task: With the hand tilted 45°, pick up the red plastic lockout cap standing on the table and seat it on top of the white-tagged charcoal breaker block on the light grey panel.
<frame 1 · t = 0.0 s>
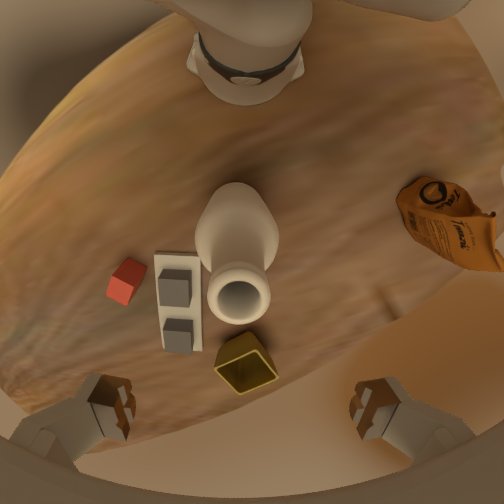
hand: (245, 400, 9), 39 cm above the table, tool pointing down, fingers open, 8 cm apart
coffee package: (418, 208, 48), on the table
flower pot: (244, 343, 55), on the table
panel: (180, 303, 51), on the table
alcohol: (235, 208, 46), on the table
cap: (134, 271, 48), on the table
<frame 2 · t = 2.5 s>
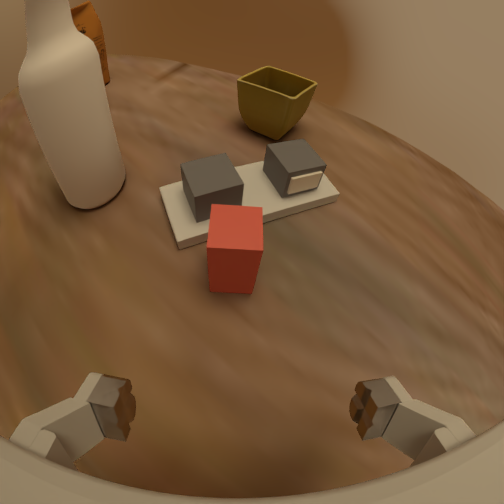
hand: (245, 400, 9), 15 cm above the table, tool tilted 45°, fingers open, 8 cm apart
coffee package: (83, 92, 46), on the table
flower pot: (270, 129, 41), on the table
panel: (251, 196, 33), on the table
alcohol: (96, 187, 32), on the table
cap: (231, 274, 28), on the table
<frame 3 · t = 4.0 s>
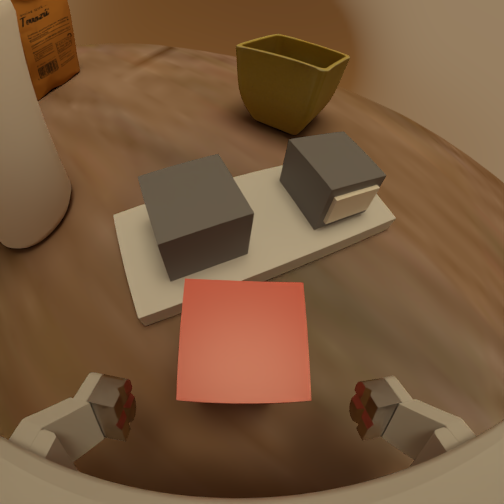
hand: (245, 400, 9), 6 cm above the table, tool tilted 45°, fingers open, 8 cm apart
coffee package: (49, 86, 34), on the table
flower pot: (283, 120, 29), on the table
panel: (262, 225, 21), on the table
alcohol: (36, 213, 20), on the table
cap: (234, 370, 15), on the table
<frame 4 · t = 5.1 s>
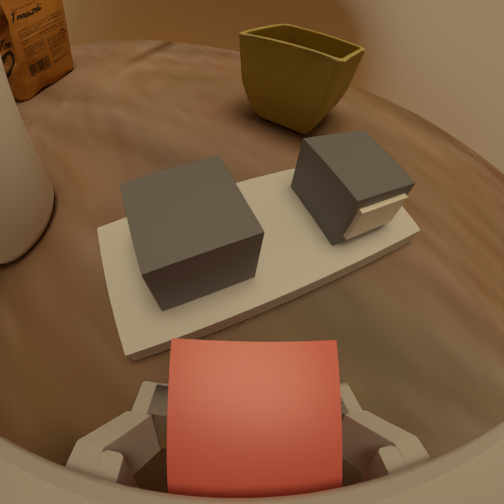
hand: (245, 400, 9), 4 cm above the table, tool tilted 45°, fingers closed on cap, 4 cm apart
coffee package: (41, 85, 31), on the table
flower pot: (291, 118, 26), on the table
panel: (271, 240, 18), on the table
alcohol: (18, 223, 17), on the table
cap: (239, 414, 12), on the table, touching gripper
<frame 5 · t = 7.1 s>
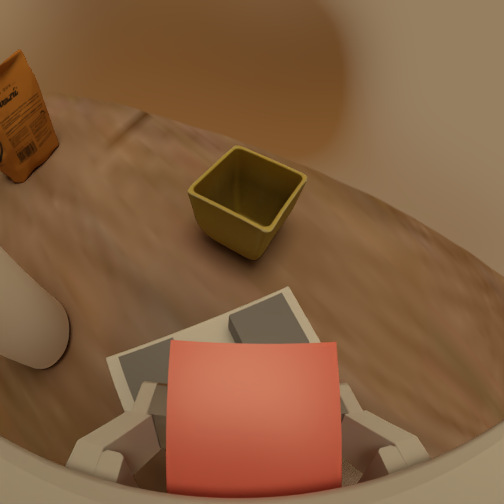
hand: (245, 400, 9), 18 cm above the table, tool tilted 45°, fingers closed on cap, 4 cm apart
coffee package: (31, 161, 39), on the table
flower pot: (243, 235, 34), on the table
panel: (215, 363, 26), on the table
alcohol: (44, 334, 25), on the table
cap: (239, 415, 12), point 13 cm above the table, touching gripper
when the fingers open (11 cm above the table, at t = 9.4 s): cap stays where it is, resting on panel.
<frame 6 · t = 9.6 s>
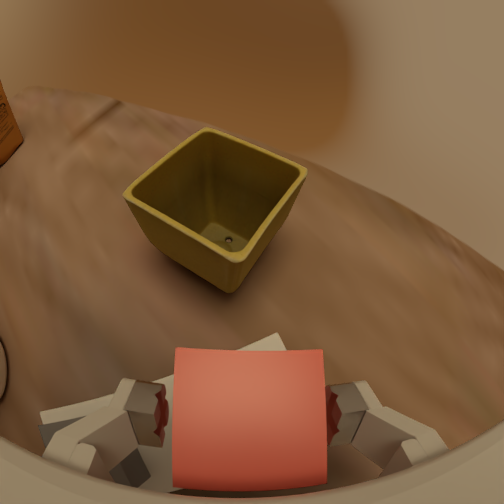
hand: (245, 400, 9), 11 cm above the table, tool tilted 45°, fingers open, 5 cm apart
flower pot: (218, 254, 25), on the table
panel: (172, 434, 16), on the table
cap: (238, 414, 13), point 5 cm above the table, touching panel
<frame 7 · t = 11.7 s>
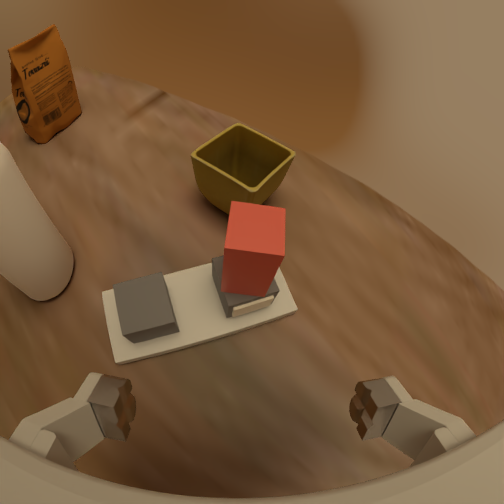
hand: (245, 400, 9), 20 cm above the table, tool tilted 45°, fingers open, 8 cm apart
coffee package: (54, 126, 43), on the table
flower pot: (237, 202, 38), on the table
panel: (196, 307, 30), on the table
alcohol: (49, 271, 29), on the table
cap: (244, 274, 27), point 5 cm above the table, touching panel
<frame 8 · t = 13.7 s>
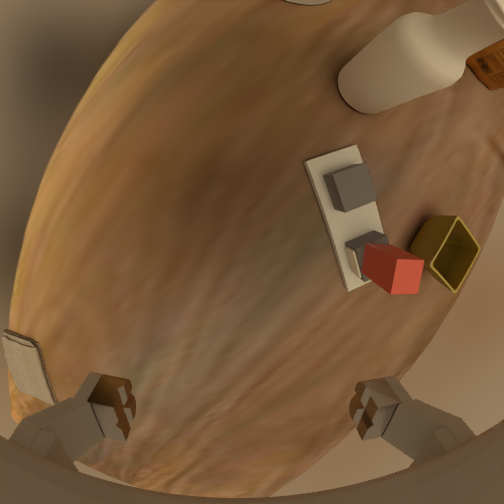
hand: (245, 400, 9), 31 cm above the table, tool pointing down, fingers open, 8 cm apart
coffee package: (476, 63, 33), on the table
flower pot: (424, 243, 42), on the table
panel: (350, 218, 39), on the table
alcohol: (361, 89, 35), on the table
washcloth: (31, 365, 43), on the table
cap: (376, 258, 35), point 5 cm above the table, touching panel
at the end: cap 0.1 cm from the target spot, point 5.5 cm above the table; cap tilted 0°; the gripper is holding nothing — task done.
